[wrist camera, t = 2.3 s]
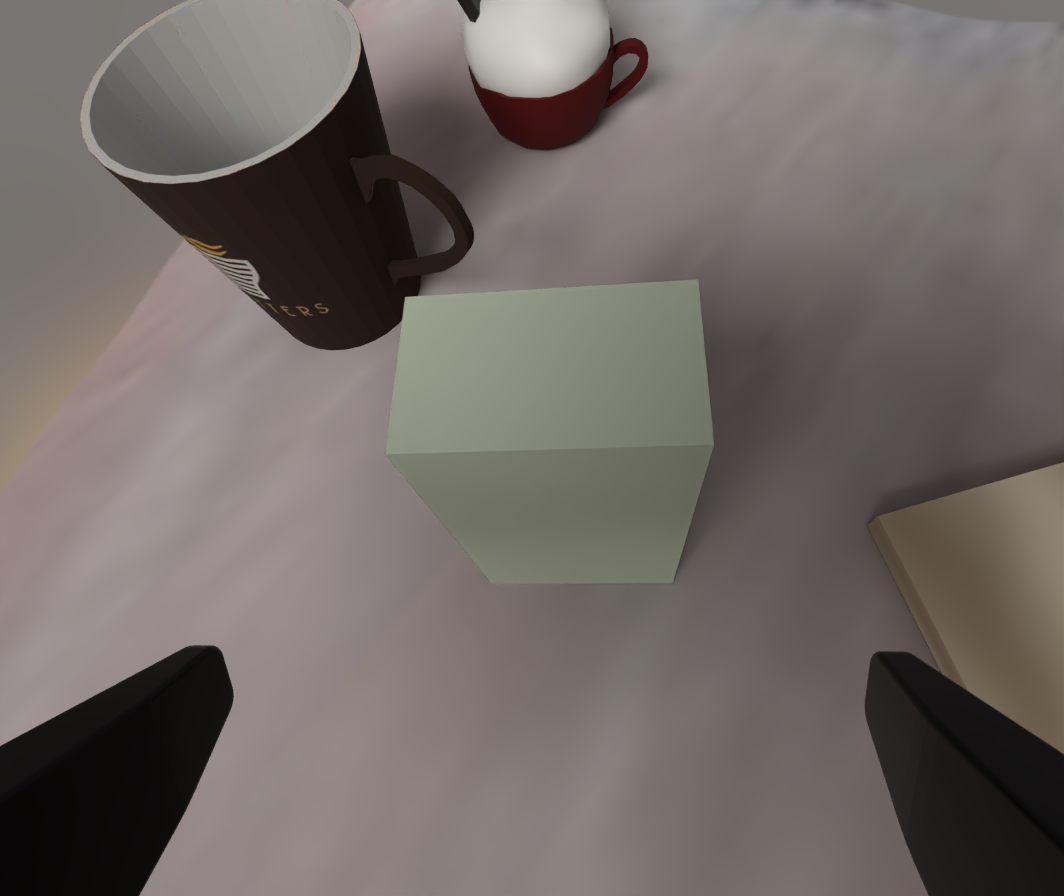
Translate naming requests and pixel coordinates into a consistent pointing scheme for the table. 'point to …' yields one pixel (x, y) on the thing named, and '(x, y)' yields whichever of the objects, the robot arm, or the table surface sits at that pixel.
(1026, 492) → the ledge board
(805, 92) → the table surface
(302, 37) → the coffee mug
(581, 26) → the cocoa
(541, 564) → the sage green box
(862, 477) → the table surface
